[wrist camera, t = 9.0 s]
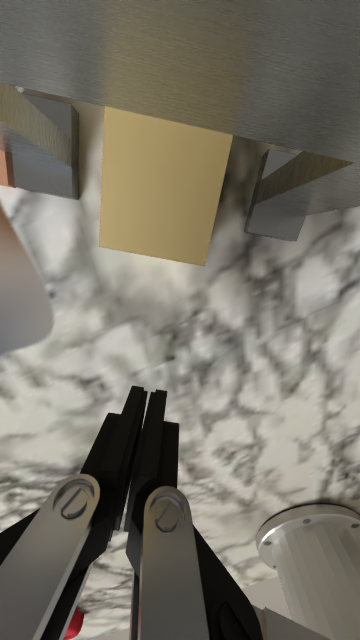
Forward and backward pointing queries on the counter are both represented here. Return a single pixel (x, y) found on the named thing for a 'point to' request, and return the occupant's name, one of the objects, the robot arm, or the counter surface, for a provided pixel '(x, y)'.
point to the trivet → (6, 170)
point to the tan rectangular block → (160, 186)
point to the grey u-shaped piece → (192, 89)
